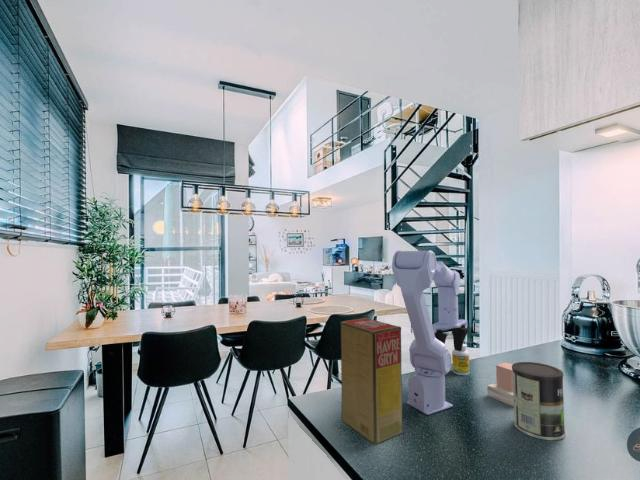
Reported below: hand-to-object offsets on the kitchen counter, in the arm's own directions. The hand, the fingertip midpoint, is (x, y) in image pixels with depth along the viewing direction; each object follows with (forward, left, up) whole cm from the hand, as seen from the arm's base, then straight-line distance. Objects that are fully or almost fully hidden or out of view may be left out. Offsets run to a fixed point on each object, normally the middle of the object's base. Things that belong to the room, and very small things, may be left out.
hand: (449, 352), depth 105 cm
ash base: (+8, -14, -10) cm, 19 cm away
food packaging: (-35, -7, -11) cm, 37 cm away
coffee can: (-1, -27, -11) cm, 29 cm away
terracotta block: (+8, -14, -7) cm, 18 cm away
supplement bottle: (+12, +6, -11) cm, 17 cm away
